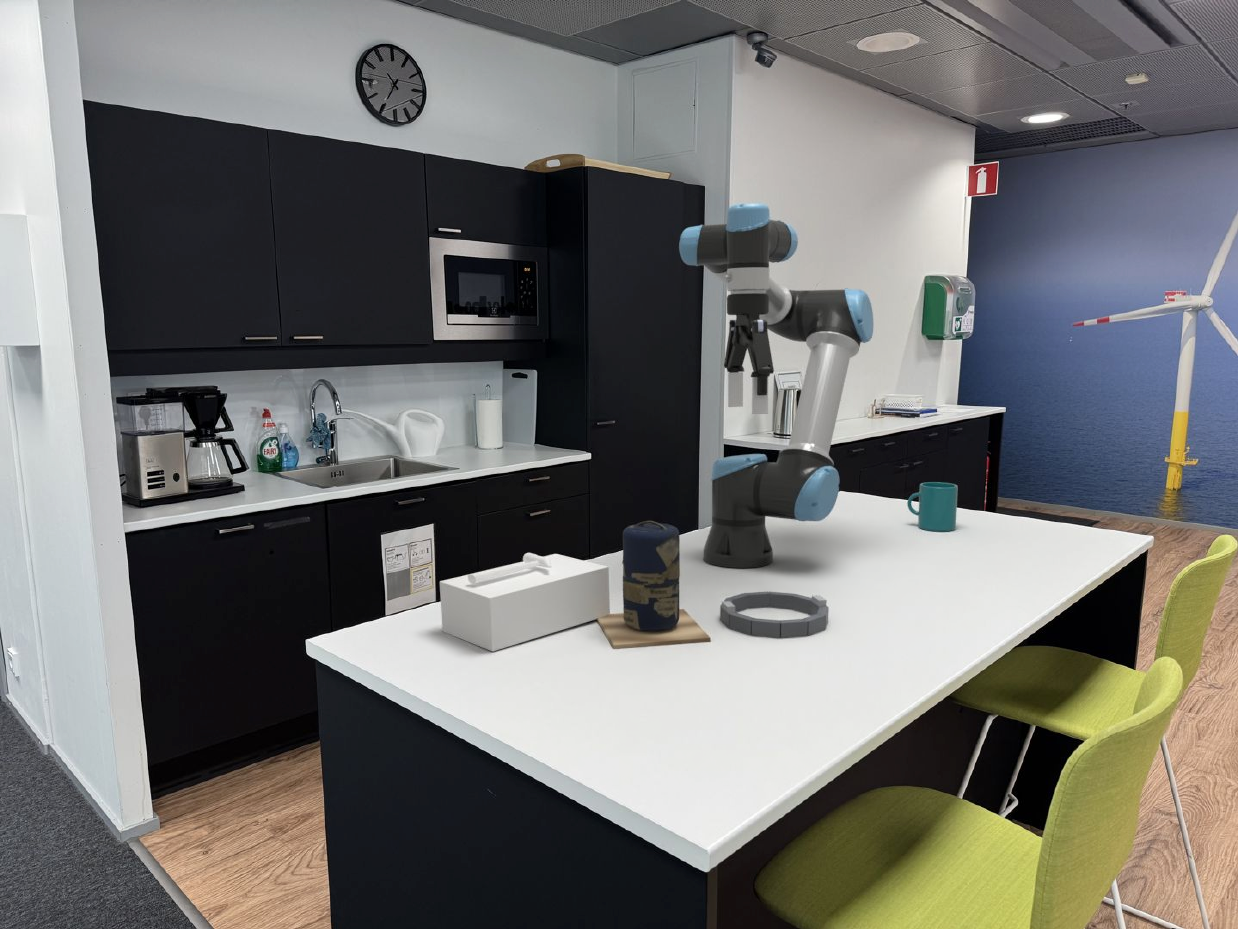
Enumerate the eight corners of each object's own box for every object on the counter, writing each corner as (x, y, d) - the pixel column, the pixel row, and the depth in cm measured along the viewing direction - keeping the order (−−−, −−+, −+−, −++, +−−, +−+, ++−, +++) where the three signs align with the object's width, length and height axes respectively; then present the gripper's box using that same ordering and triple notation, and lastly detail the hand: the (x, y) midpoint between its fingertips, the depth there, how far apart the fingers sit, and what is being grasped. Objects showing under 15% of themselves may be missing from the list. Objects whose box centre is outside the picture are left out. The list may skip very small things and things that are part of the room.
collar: (708, 608, 165) (708, 590, 164) (801, 602, 168) (802, 584, 168) (741, 641, 147) (742, 620, 147) (845, 633, 151) (845, 612, 150)
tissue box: (609, 614, 159) (608, 553, 158) (492, 651, 142) (489, 583, 141) (557, 598, 170) (555, 541, 168) (442, 631, 153) (438, 568, 151)
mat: (595, 618, 160) (595, 615, 159) (683, 612, 163) (683, 609, 163) (613, 648, 144) (613, 645, 144) (710, 641, 147) (710, 637, 147)
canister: (648, 639, 147) (648, 529, 144) (611, 624, 154) (610, 520, 151) (691, 626, 153) (691, 521, 150) (653, 613, 160) (653, 513, 157)
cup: (910, 522, 239) (912, 480, 238) (958, 526, 233) (960, 483, 232) (902, 528, 231) (904, 485, 230) (952, 533, 226) (954, 489, 224)
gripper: (707, 294, 175) (708, 404, 179) (751, 290, 151) (750, 418, 155) (744, 294, 177) (744, 403, 180) (793, 290, 153) (792, 416, 156)
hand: (747, 410), depth 167 cm, fingers open, 13 cm apart
